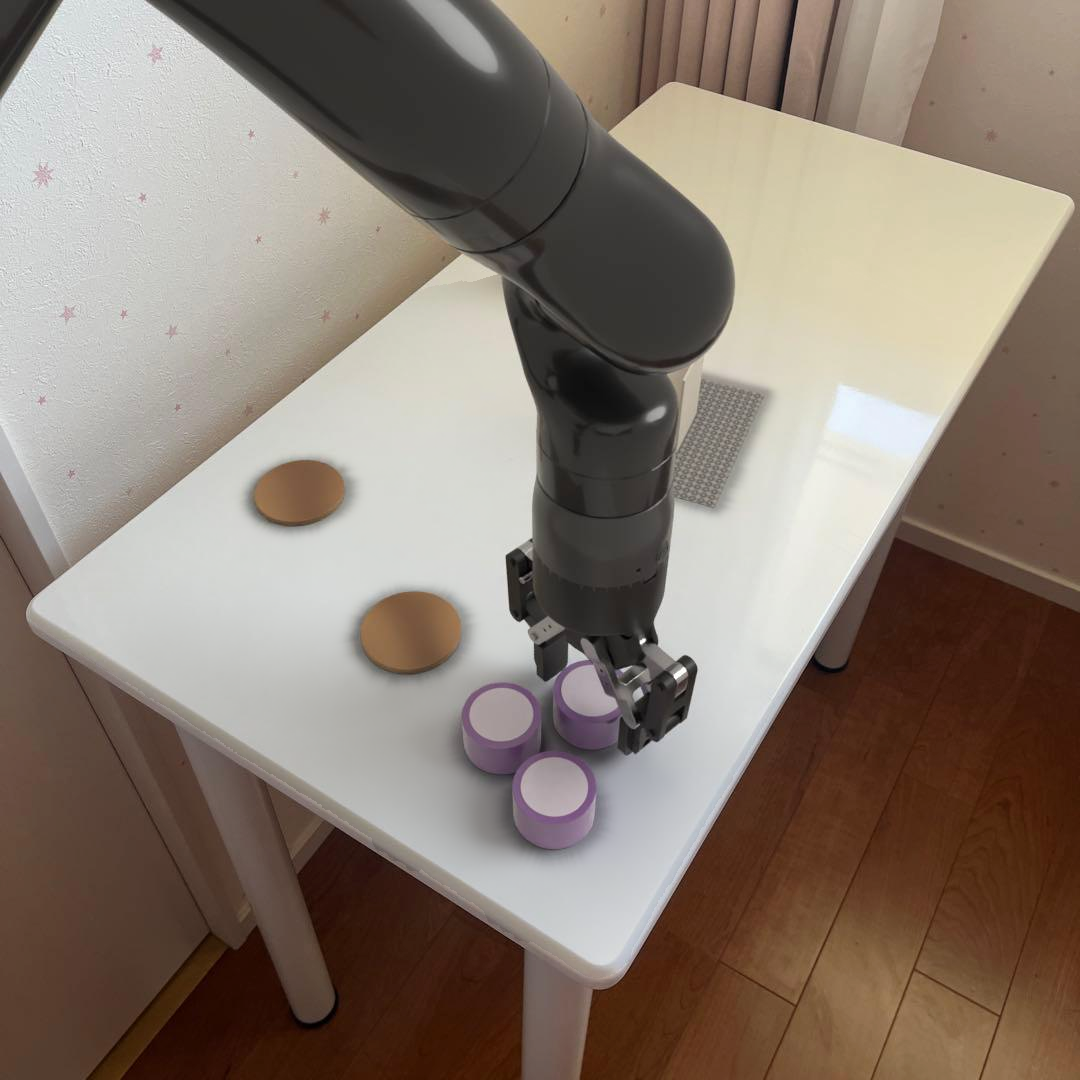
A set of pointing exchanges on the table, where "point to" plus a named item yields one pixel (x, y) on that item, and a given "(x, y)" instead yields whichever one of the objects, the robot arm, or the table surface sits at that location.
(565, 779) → the purple rimmed puck
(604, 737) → the purple short cylinder
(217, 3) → the robot arm
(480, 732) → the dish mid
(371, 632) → the brown wooden coaster
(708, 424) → the architectural model
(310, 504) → the coaster far
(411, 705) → the table surface
